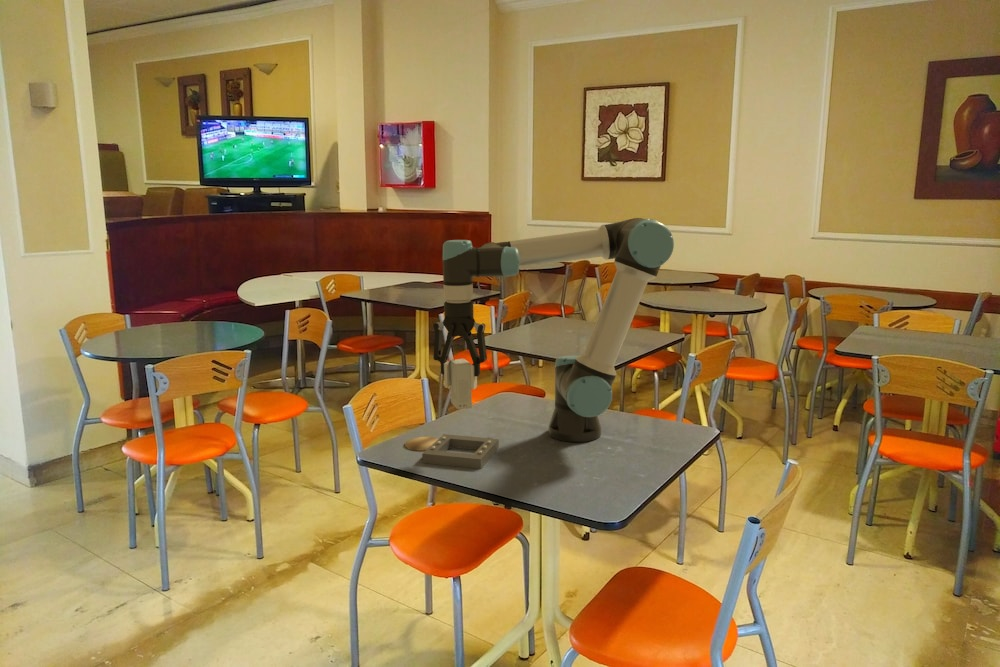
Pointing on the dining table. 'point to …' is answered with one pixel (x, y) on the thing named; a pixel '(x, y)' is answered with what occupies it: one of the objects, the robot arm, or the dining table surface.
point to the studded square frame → (476, 460)
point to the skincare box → (460, 383)
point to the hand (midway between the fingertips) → (460, 387)
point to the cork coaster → (420, 443)
